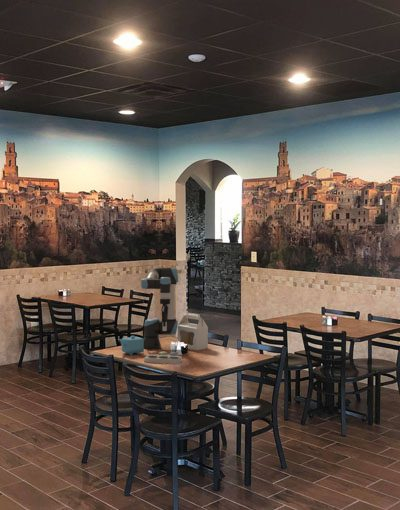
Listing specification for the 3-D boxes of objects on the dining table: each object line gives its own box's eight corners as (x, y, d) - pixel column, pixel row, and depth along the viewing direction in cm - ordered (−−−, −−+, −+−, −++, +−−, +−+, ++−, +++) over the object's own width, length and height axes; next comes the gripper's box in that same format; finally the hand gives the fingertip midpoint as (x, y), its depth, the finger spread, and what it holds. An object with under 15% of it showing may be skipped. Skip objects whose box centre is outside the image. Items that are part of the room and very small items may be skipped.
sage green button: (160, 353, 469) (160, 351, 469) (168, 353, 468) (168, 351, 468) (158, 355, 463) (158, 352, 463) (166, 355, 462) (166, 353, 462)
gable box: (177, 346, 523) (177, 312, 522) (188, 344, 533) (189, 311, 532) (196, 350, 508) (197, 315, 507) (208, 348, 517) (208, 313, 516)
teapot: (140, 351, 501) (140, 333, 500) (146, 353, 492) (147, 336, 491) (114, 354, 489) (114, 336, 488) (120, 356, 480) (121, 338, 479)
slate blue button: (170, 353, 467) (170, 351, 467) (178, 354, 466) (178, 352, 466) (168, 355, 461) (168, 353, 461) (177, 356, 460) (177, 353, 460)
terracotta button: (149, 352, 470) (149, 350, 470) (157, 353, 469) (157, 351, 469) (147, 354, 464) (147, 352, 464) (155, 354, 463) (155, 352, 463)
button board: (148, 358, 473) (148, 354, 473) (181, 360, 469) (181, 356, 469) (144, 362, 462) (144, 357, 461) (178, 363, 457) (178, 359, 457)
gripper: (162, 297, 474) (161, 329, 475) (157, 299, 461) (157, 331, 462) (172, 297, 473) (171, 329, 474) (168, 299, 460) (167, 332, 461)
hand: (164, 330), depth 468 cm, fingers closed
